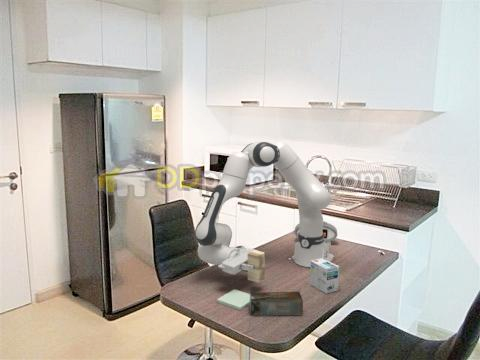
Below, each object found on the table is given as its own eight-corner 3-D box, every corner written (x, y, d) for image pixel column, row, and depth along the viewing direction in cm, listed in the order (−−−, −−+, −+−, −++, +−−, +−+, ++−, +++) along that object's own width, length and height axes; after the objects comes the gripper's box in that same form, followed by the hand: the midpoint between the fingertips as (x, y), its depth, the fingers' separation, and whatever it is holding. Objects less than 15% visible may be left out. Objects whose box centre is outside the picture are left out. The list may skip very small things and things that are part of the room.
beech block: (254, 275, 168) (254, 250, 166) (264, 278, 165) (264, 252, 163) (247, 279, 164) (247, 253, 162) (258, 282, 161) (258, 256, 159)
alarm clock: (293, 243, 223) (294, 220, 220) (294, 239, 229) (295, 217, 226) (336, 246, 218) (338, 223, 216) (336, 242, 224) (337, 220, 222)
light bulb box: (338, 290, 165) (340, 265, 163) (326, 294, 162) (327, 268, 160) (321, 281, 174) (322, 257, 172) (309, 284, 171) (310, 260, 169)
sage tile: (234, 291, 163) (234, 289, 163) (256, 299, 157) (257, 296, 157) (217, 302, 154) (217, 299, 154) (240, 310, 148) (240, 307, 148)
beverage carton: (249, 305, 152) (249, 289, 151) (299, 306, 153) (300, 289, 151) (250, 316, 144) (250, 299, 143) (303, 316, 145) (304, 299, 144)
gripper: (214, 258, 162) (243, 266, 154) (243, 244, 178) (270, 250, 170) (215, 273, 163) (243, 281, 155) (244, 257, 179) (270, 264, 171)
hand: (258, 265), depth 163 cm, fingers closed on beech block, 5 cm apart
